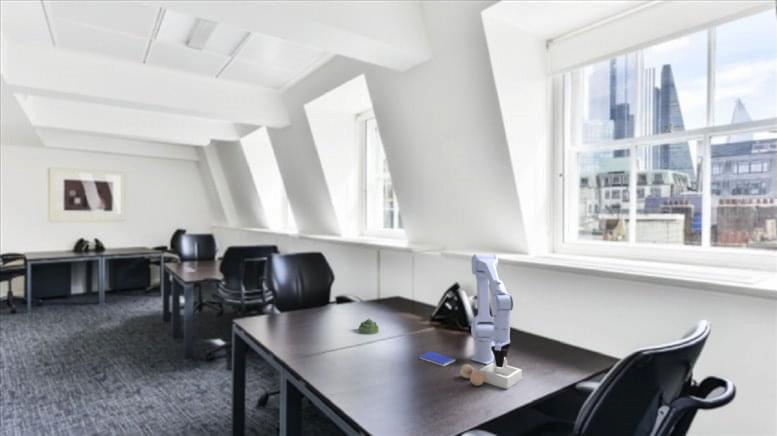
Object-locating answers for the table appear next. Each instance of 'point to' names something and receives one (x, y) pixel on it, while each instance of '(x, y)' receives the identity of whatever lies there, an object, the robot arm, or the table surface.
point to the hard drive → (437, 358)
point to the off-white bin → (501, 375)
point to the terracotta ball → (477, 378)
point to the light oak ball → (466, 370)
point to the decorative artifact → (368, 327)
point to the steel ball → (503, 363)
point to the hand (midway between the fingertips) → (500, 364)
